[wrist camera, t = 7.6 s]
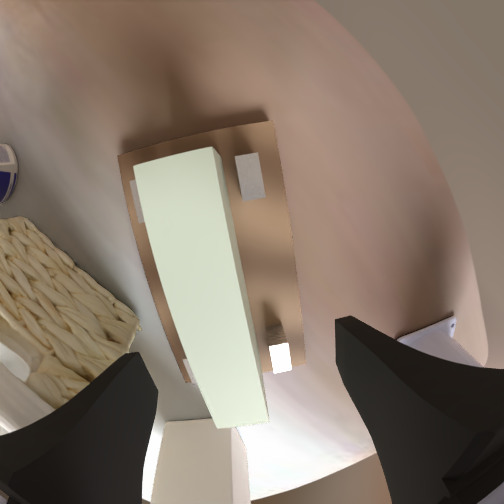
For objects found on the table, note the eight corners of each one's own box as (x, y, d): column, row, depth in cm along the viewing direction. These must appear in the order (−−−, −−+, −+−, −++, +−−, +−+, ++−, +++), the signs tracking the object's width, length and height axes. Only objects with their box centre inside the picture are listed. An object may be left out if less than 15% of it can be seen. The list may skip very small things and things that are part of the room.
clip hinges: (285, 348, 20) (291, 369, 18) (196, 363, 20) (192, 384, 17) (254, 155, 16) (257, 152, 13) (143, 179, 16) (129, 181, 13)
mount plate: (303, 354, 22) (306, 363, 21) (187, 373, 22) (185, 382, 20) (270, 123, 16) (272, 120, 15) (124, 156, 16) (117, 155, 15)
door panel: (258, 351, 20) (269, 422, 13) (220, 357, 20) (217, 428, 13) (221, 157, 16) (212, 146, 9) (173, 167, 16) (132, 166, 9)
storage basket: (79, 426, 24) (45, 511, 10) (-13, 348, 20) (-68, 412, 6) (163, 313, 20) (98, 488, 6) (22, 190, 16) (-117, 233, 2)
